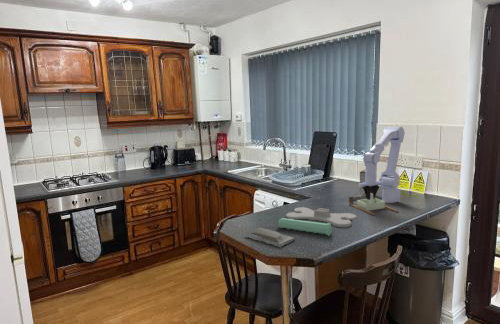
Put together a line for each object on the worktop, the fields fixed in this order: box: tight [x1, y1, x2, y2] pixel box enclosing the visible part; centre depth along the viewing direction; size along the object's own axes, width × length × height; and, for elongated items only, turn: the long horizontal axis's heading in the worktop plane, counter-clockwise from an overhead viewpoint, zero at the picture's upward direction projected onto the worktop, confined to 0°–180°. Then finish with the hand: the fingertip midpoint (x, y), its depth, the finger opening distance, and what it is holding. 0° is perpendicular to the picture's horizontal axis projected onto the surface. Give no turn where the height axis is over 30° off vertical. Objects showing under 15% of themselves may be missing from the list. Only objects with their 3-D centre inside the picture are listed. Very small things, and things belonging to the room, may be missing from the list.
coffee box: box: [359, 169, 370, 195], centre depth 210 cm, size 9×6×16 cm
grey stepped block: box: [251, 227, 296, 245], centre depth 146 cm, size 10×20×4 cm, turn 48°
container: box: [277, 217, 333, 237], centre depth 154 cm, size 6×6×25 cm
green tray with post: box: [356, 193, 386, 211], centre depth 183 cm, size 12×8×8 cm, turn 106°
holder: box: [285, 206, 358, 228], centre depth 172 cm, size 19×34×5 cm, turn 57°
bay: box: [348, 194, 399, 217], centre depth 183 cm, size 15×24×6 cm, turn 16°
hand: (370, 198), depth 183 cm, fingers closed on green tray with post, 2 cm apart
